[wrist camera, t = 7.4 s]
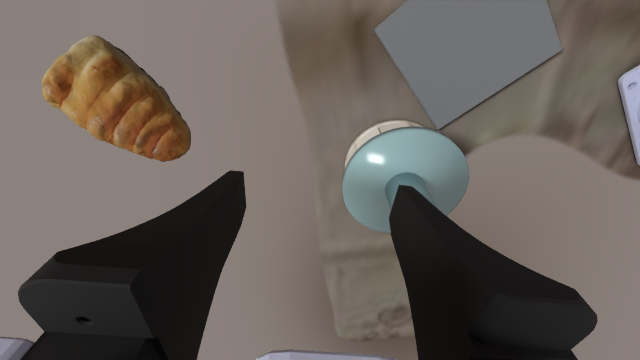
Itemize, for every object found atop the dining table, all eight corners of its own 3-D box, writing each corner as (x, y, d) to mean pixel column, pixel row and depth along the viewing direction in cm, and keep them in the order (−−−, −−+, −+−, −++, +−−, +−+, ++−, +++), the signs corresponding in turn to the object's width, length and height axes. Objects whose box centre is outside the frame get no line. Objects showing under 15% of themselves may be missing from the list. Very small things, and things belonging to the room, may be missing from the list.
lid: (483, 190, 21) (524, 240, 16) (382, 241, 24) (394, 294, 20) (429, 98, 17) (465, 131, 13) (318, 174, 20) (316, 221, 16)
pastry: (214, 120, 22) (195, 140, 19) (173, 168, 25) (150, 193, 21) (98, 24, 18) (49, 29, 15) (64, 93, 21) (17, 110, 18)
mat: (557, 48, 18) (562, 49, 18) (436, 127, 22) (437, 129, 21) (511, -91, 15) (516, -94, 14) (373, 29, 18) (374, 30, 18)
